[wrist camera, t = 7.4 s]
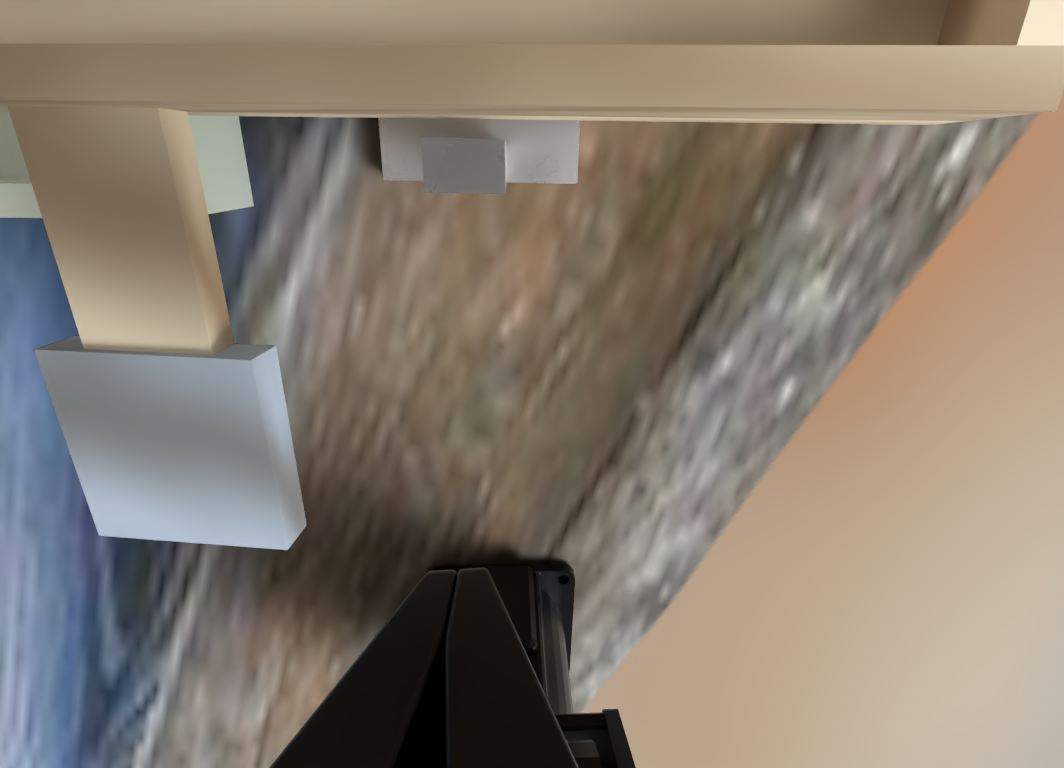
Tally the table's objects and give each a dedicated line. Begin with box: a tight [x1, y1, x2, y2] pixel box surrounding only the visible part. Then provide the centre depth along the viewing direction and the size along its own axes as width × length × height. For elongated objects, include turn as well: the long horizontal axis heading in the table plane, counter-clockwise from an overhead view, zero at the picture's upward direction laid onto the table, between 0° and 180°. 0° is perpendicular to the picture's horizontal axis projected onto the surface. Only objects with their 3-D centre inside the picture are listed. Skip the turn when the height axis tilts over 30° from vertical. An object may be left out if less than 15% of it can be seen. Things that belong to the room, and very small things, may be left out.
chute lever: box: [0, 0, 1064, 550], centre depth 12 cm, size 17×19×6 cm
